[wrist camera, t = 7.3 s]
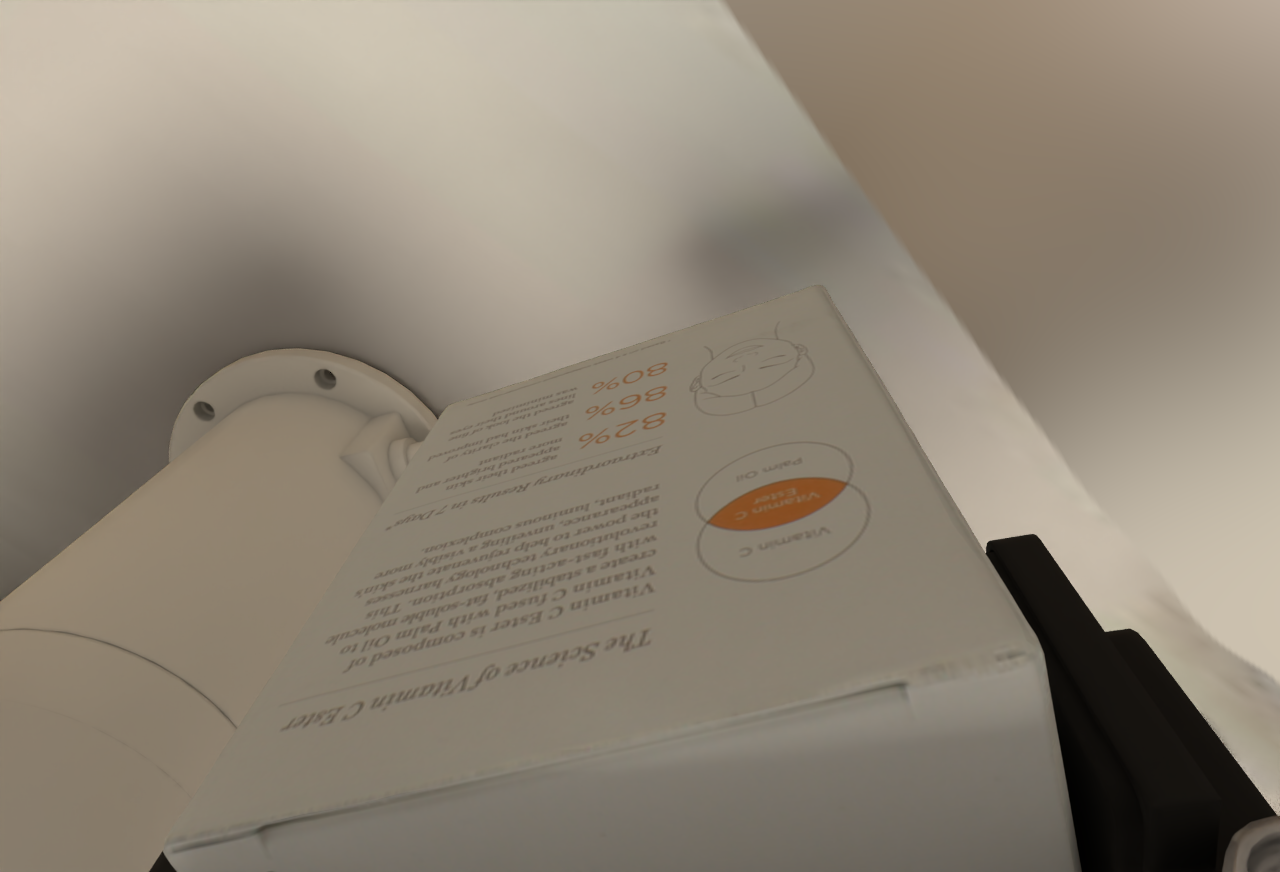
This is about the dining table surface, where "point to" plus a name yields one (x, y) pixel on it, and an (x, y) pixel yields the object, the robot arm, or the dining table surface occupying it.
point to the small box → (657, 642)
